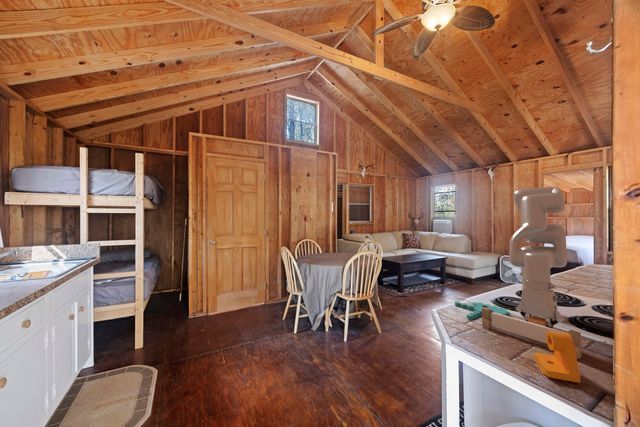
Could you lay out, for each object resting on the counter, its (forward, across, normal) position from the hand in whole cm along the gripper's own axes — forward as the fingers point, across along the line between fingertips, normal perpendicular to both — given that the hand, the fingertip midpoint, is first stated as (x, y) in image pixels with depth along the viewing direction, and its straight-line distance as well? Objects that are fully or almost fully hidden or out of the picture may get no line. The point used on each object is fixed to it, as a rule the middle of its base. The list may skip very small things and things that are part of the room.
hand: (539, 332), depth 98 cm
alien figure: (+3, +25, -11) cm, 28 cm away
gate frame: (+2, +2, +5) cm, 6 cm away
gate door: (+1, +2, +6) cm, 6 cm away
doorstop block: (+1, 0, 0) cm, 1 cm away
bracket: (+3, -11, +21) cm, 24 cm away
